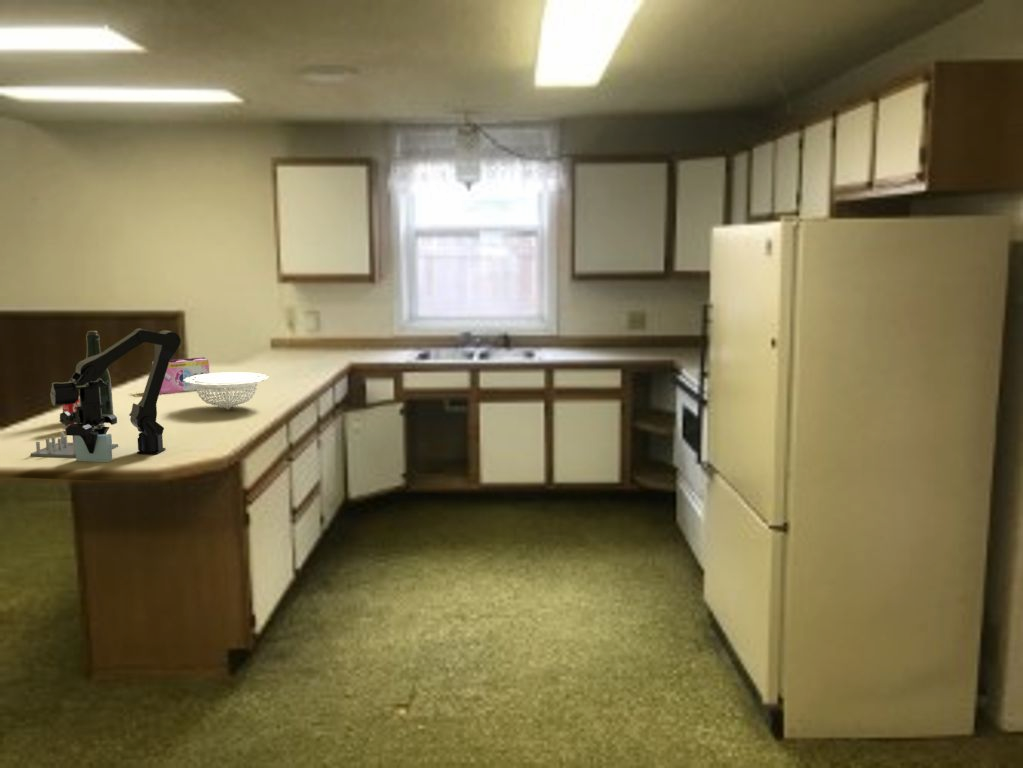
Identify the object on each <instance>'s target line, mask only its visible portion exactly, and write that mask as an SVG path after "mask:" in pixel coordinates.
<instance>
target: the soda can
mask: <svg viewBox="0 0 1023 768" xmlns="http://www.w3.org/2000/svg"><path fill="white" fill-rule="evenodd" d="M61 406H62V413H64V412H67V411H68V412H69V413H73V412H76V408H77V406H80V397H79V399H78V400H77V401H76V402H75V404H67V405H61ZM73 424H76V423H73ZM80 424H83V423H80ZM69 425H72V424H69ZM69 425H68V426H69ZM68 426H65V425H64V424H63V428H64V430H65V429H66V428H67V427H68Z"/></svg>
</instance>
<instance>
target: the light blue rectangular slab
mask: <svg viewBox="0 0 1023 768" xmlns="http://www.w3.org/2000/svg"><path fill="white" fill-rule="evenodd" d="M111 436H112V433H106V434H98V436H97V441H96V445H95V449H94V453H93V454H90V453H89V451H88V449H87V447H86V445H85V442H84V441H83V439H82V437H80V436H75V447H76V457H75V459H76V461H77V462H98V463H99V462H101V463H109V462H111V461H113V451H112V450H113V449H112V447H111Z"/></svg>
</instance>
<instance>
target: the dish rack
mask: <svg viewBox="0 0 1023 768" xmlns="http://www.w3.org/2000/svg"><path fill="white" fill-rule="evenodd" d="M45 446H46V447H44V448H41V441H36V442H35V447H36V451H33V452H31V453H30V457H45V456H47V457H48V456H49V457H52V458H76V447H75V436H72V442H68V435H65V432H63V431H62V432H60V438H57V443H56V436H55V435H52V436H51V441H50V438H48V437H46V438H45ZM111 447H112V450H113V449H116V448H119V444H118V443H113V440H112V435H111ZM47 457H46V458H47Z"/></svg>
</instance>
